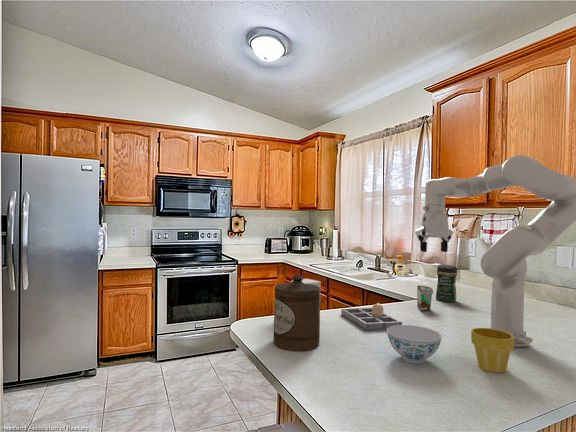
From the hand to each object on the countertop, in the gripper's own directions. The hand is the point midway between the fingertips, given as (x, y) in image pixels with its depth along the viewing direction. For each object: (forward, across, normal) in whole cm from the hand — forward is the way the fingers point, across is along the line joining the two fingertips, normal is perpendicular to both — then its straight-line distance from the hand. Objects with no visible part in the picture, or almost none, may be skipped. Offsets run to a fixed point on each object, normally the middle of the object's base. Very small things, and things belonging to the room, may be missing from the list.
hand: (433, 251), depth 145 cm
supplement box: (+28, -50, +14) cm, 59 cm away
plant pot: (+28, -14, -44) cm, 54 cm away
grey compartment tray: (+28, -26, +4) cm, 39 cm away
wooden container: (+29, -62, -15) cm, 70 cm away
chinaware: (+28, -32, -34) cm, 55 cm away
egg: (+28, -23, +4) cm, 36 cm away
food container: (+28, +10, +18) cm, 35 cm away
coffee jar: (+28, +33, +33) cm, 55 cm away
